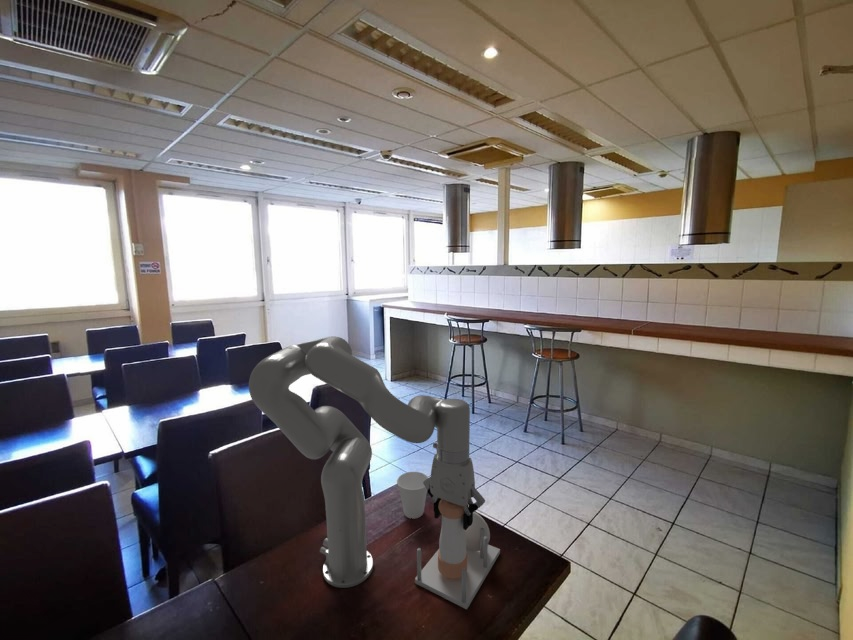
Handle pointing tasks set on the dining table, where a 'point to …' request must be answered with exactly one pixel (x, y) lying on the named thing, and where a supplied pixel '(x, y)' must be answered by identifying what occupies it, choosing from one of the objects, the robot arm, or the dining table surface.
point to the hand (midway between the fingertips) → (452, 520)
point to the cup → (412, 493)
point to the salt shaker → (452, 541)
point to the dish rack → (477, 568)
